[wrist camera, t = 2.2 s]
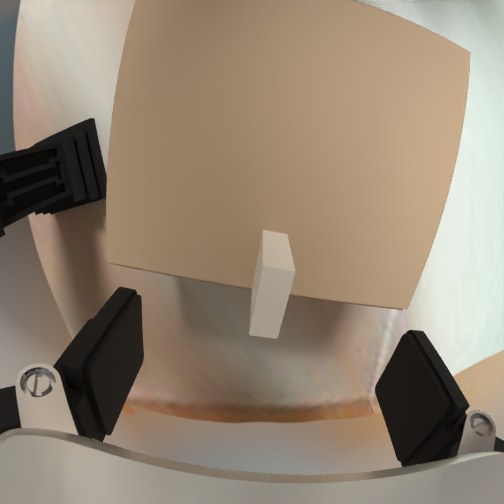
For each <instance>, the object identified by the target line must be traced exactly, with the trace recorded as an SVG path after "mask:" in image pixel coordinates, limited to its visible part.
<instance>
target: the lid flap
mask: <svg viewBox="0 0 504 504" xmlns="http://www.w3.org/2000/svg"><path fill="white" fill-rule="evenodd" d="M469 69H470V52H469V51H467V50H465V49H464V48H462V47H460V46H458V45H457V44H455V43H453V42H451V41H449V40H448V39H446V38H444V37H442V36H440V35H438V34H436V33H434V32H432V31H430V30H428V29H426V28H424V27H422V26H420V25H417V24H415V23H413V22H411V21H408V20H406V19H404V18H401V17H399V16H396V15H394V14H391V13H389V12H386V11H384V10H381V9H378V8H375V7H372V6H370V5H367V4H364V3H361V2H357V1H354V0H136V1H135V5H134V8H133V12H132V16H131V19H130V23H129V27H128V31H127V35H126V40H125V44H124V49H123V54H122V58H121V63H120V69H119V74H118V80H117V86H116V92H115V99H114V106H113V114H112V122H111V132H110V142H109V154H108V169H107V191H106V249H107V262H110V263H115V264H120V265H125V266H130V267H135V268H141V269H146V270H151V271H156V272H162V273H167V274H172V275H178V276H183V277H189V278H195V279H200V280H206V281H212V282H218V283H224V284H230V285H236V286H242V287H248V288H252V294H251V310H250V325H249V335H252V336H259V337H266V338H274V339H278V335H279V332H280V328H281V324H282V321H283V317H284V313H285V310H286V306H287V302H288V298H289V295H290V294H293V295H300V296H307V297H314V298H321V299H329V300H336V301H343V302H351V303H359V304H367V305H375V306H383V307H392V308H400V309H407V308H408V306H409V303H410V301H411V299H412V297H413V294H414V292H415V289H416V287H417V285H418V282H419V280H420V277H421V275H422V272H423V269H424V267H425V264H426V261H427V259H428V256H429V253H430V250H431V248H432V245H433V242H434V239H435V236H436V233H437V230H438V227H439V224H440V220H441V217H442V214H443V210H444V207H445V203H446V200H447V196H448V192H449V189H450V185H451V181H452V177H453V173H454V168H455V164H456V159H457V155H458V150H459V145H460V139H461V134H462V128H463V122H464V115H465V108H466V100H467V92H468V82H469Z"/></svg>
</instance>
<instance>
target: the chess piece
mask: <svg viewBox="0 0 504 504" xmlns="http://www.w3.org/2000/svg"><path fill="white" fill-rule="evenodd" d="M106 191H107V176H106V172H105V168H104V163H103V159H102V155H101V150H100V145H99V140H98V136H97V130H96V125H95V120H94V118H90V119H88V120H85V121H83V122H80V123H78V124H76V125H74V126H71V127H69V128H67V129H65V130H63V131H60V132H58V133H56V134H54V135H52V136H50V137H48V138H46V139H44V140H42V141H40V142H38V143H36V144H34V146H32V147H30V148H28V149H23V150H19V151H14V152H10V153H6V154H2V155H0V237H2V236H3V235H5V233H4V229H3V228H5V227H6V226H8V225H10V224H12V223H14V222H16V221H17V220H19V219H21V218H23V217H25V216H27V215H29V214H31V213H33V212H35V214H36V215H37V214H40V213H43V215H44V214H47V213H50V214H54V213H57V212H60V211H64V210H67V209H70V208H73V207H77V206H80V205H83V204H87V203H90V202H94V201H97V200H101V199H104V198H106Z"/></svg>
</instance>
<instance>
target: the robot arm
mask: <svg viewBox="0 0 504 504" xmlns="http://www.w3.org/2000/svg"><path fill="white" fill-rule="evenodd" d="M143 358H144V350H143V332H142V302H141V296H140V295H137V292H136V290H133V289H129V288H124V287H119V288H118V289H117V290H116V291H115V292H114V294H113V295H112V296H111V297H110V299H109V300H108V301H107V302H106V304H105V305H104V306H103V307H102V308H101V310H100V311H99V312H98V314H97V315H96V316H95V317H94V318H92V319H90V320H88V321H87V323H86V324H85V325H84V326H83V328H82V329H81V330H80V332H79V333H78V334H77V335H76V337H75V338H74V339H73V341H72V342H71V343H70V345H69V346H68V347H67V348H66V350H65V351H64V352H63V354H62V355H61V357H60V358H59V359H58V361H57V362H56V363H55V365H54V366H53V367H51V366H49V365H47V364H42V363H41V364H32V365H29V366H27V367H25V368H24V369H22V370H21V371H20V373H19V374H18V376H17V378H16V382H15V386H11V387H6V388H2V389H0V504H504V441H503V440H501V439H500V438H498V437H496V426H495V424H494V421H493V420H492V418H491V417H490V416H489V415H488V414H486V413H484V412H482V411H479V410H474V411H471V412H470V413H468V415H466V413H465V411H466V410H467V409H468V408H469V404H468V402H467V400H466V398H465V397H464V395H463V393H462V391H461V390H460V388H459V386H458V385H457V383H456V381H455V380H454V378H453V376H452V375H451V373H450V372H449V370H448V368H447V367H446V365H445V364H444V362H443V360H442V359H441V357H440V356H439V354H438V353H437V351H436V349H435V348H434V346H433V345H432V343H431V342H430V340H429V339H428V337H427V336H426V334H425V333H424V332H423V331H416V330H409V331H407V332H406V334H404V335H403V336H402V337H401V339H400V341H399V343H398V345H397V347H396V349H395V351H394V353H393V355H392V357H391V359H390V361H389V363H388V364H387V366H386V368H385V370H384V372H383V373H382V375H381V377H380V379H379V381H378V382H377V384H376V387H375V393H376V396H377V399H378V402H379V405H380V408H381V411H382V414H383V416H384V419H385V422H386V426H387V429H388V432H389V435H390V438H391V441H392V444H393V447H394V450H395V454H396V457H397V460H398V461H400V462H401V465H402V467H401V468H395V469H388V470H379V471H371V472H360V473H347V474H326V475H288V474H266V473H253V472H242V471H233V470H225V469H218V468H211V467H205V466H199V465H193V464H188V463H182V462H177V461H173V460H168V459H164V458H159V457H155V456H151V455H147V454H143V453H139V452H135V451H131V450H128V449H124V448H121V447H118V446H114V445H111V444H107V443H103V440H104V437H105V435H111V433H112V431H113V429H114V426H115V424H116V422H117V419H118V417H119V415H120V412H121V410H122V408H123V406H124V403H125V401H126V399H127V396H128V394H129V392H130V390H131V387H132V385H133V383H134V381H135V379H136V376H137V374H138V372H139V370H140V368H141V365H142V363H143ZM92 438H93V439H92ZM94 439H95V440H94ZM97 440H98V441H97ZM100 441H101V442H100ZM417 464H418V465H417Z"/></svg>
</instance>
